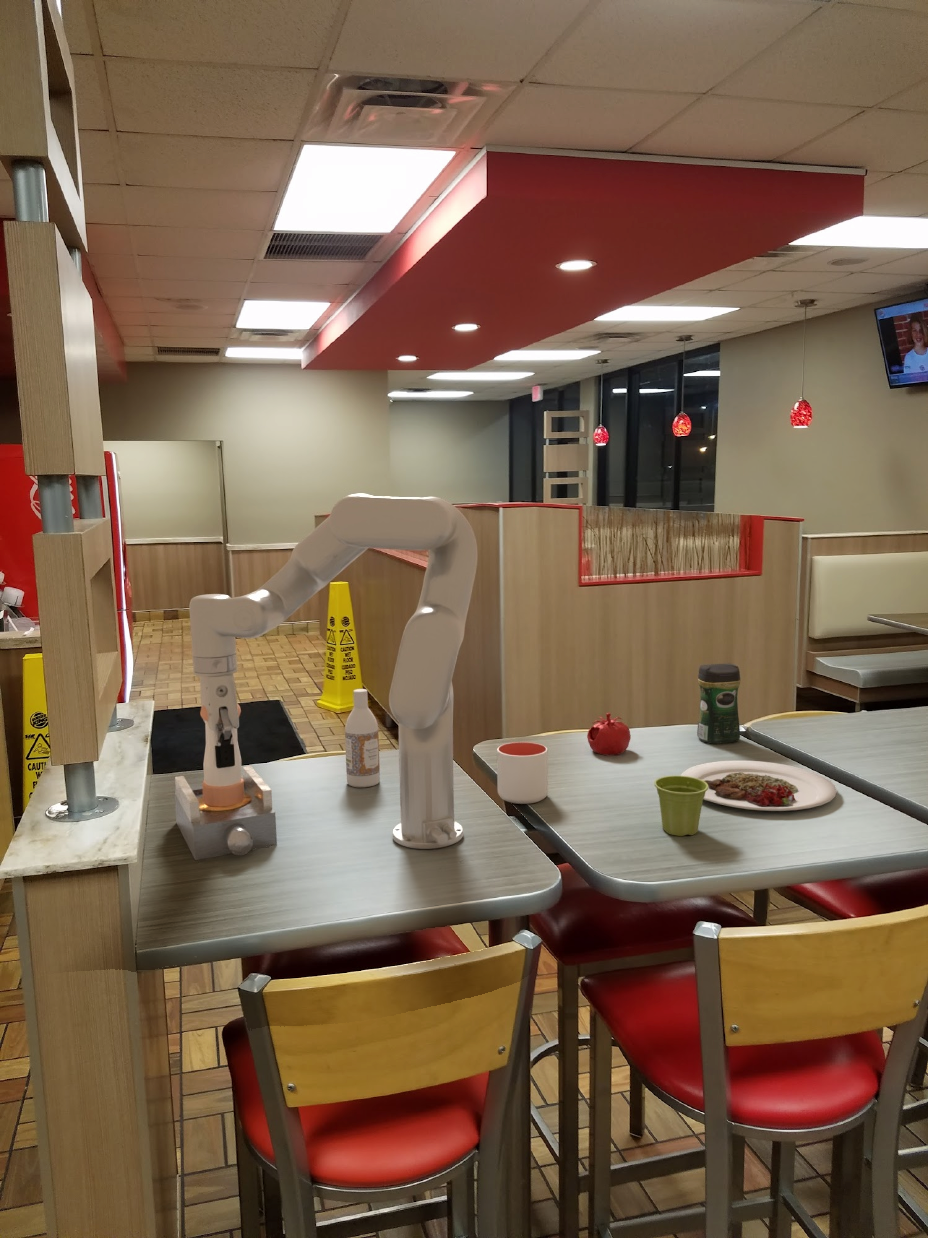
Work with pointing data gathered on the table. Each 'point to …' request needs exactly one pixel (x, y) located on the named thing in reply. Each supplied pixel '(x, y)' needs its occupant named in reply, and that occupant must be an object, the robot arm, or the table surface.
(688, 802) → the plant pot
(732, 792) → the plated food
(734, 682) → the coffee jar
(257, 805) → the portable stove
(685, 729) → the table surface
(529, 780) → the cup
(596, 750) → the pomegranate
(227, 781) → the pepper shaker
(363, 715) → the bath foam
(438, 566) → the robot arm
